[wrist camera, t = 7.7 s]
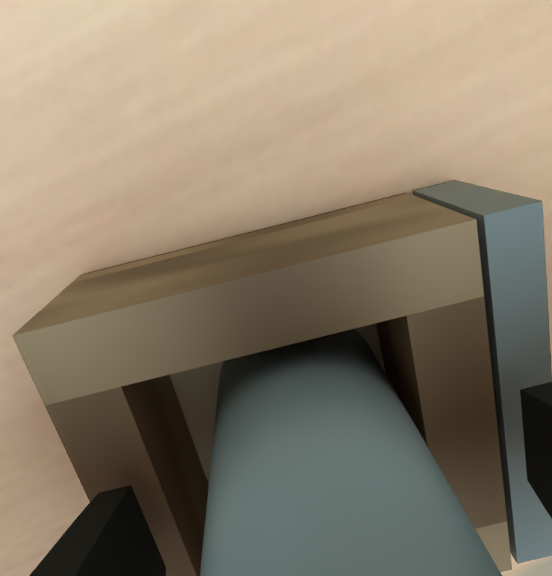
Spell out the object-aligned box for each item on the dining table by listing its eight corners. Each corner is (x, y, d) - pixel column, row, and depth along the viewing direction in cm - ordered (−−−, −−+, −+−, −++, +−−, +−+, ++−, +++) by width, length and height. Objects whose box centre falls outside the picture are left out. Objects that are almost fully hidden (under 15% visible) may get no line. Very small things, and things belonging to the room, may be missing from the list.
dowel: (242, 466, 13) (240, 1168, 4) (199, 332, 11) (62, 951, 3) (389, 430, 13) (696, 1066, 4) (362, 292, 11) (731, 800, 3)
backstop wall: (451, 459, 14) (517, 563, 11) (413, 190, 11) (483, 215, 8) (485, 451, 14) (561, 553, 11) (454, 179, 11) (542, 200, 8)
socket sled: (180, 528, 14) (160, 653, 11) (79, 275, 11) (12, 335, 8) (447, 463, 14) (512, 569, 10) (407, 192, 11) (476, 219, 8)
